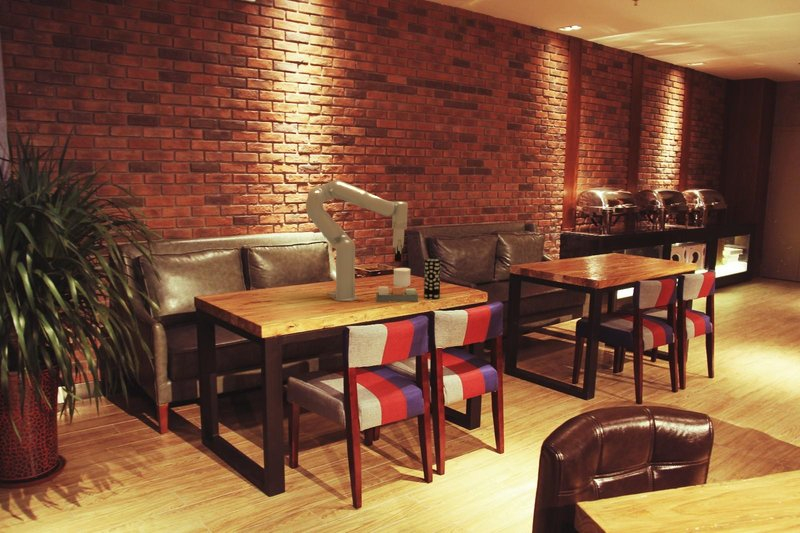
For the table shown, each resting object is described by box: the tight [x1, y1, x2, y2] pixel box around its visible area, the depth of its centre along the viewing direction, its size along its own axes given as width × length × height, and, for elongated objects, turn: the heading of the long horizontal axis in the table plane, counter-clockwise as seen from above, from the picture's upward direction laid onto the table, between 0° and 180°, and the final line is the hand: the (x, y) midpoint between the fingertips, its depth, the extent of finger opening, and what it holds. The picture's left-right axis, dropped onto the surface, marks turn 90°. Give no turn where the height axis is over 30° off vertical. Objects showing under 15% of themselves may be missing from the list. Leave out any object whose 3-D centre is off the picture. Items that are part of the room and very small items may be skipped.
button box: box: [375, 291, 419, 303], centre depth 328 cm, size 21×7×4 cm, turn 96°
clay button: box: [391, 285, 403, 295], centre depth 328 cm, size 5×5×5 cm
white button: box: [377, 285, 389, 295], centre depth 327 cm, size 5×5×5 cm
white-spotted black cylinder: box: [423, 258, 442, 300], centre depth 335 cm, size 8×8×20 cm
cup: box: [392, 267, 412, 288], centre depth 368 cm, size 10×10×10 cm
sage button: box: [404, 287, 417, 295], centre depth 329 cm, size 5×5×5 cm
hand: (397, 261), depth 332 cm, fingers closed
